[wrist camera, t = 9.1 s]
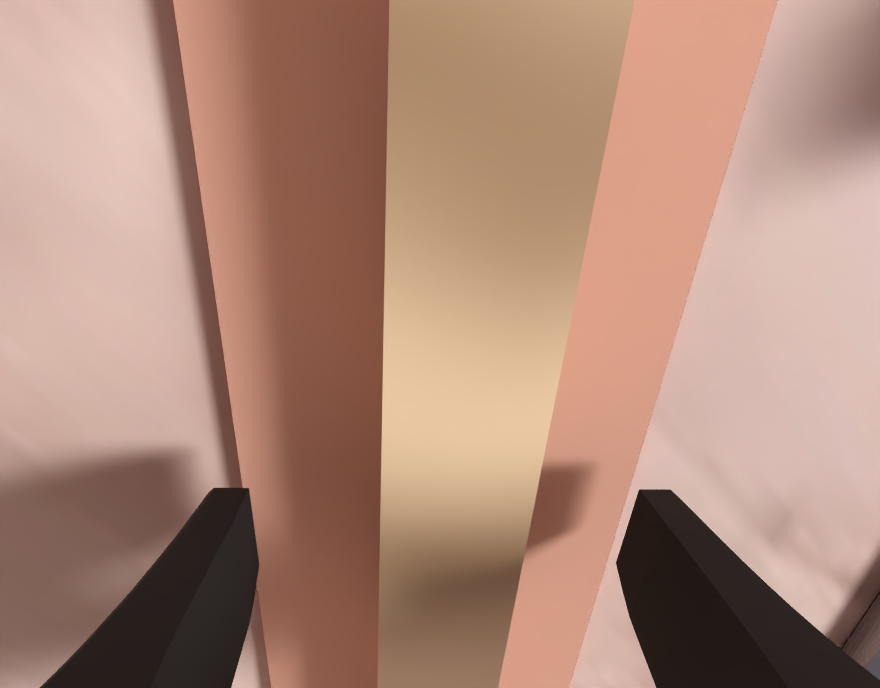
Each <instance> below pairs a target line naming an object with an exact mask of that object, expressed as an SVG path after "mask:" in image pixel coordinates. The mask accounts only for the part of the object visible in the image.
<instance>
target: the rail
mask: <svg viewBox="0 0 880 688" xmlns="http://www.w3.org/2000/svg"><path fill="white" fill-rule="evenodd" d="M634 1H635V0H389V49H388V106H387V163H386V220H385V278H384V335H383V392H382V450H381V507H380V564H379V622H378V679H377V688H498V686H499V681H500V676H501V671H502V666H503V661H504V655H505V650H506V645H507V640H508V635H509V630H510V625H511V620H512V615H513V610H514V605H515V600H516V595H517V590H518V585H519V580H520V575H521V570H522V565H523V560H524V555H525V550H526V545H527V540H528V535H529V530H530V525H531V520H532V515H533V509H534V504H535V499H536V494H537V489H538V484H539V479H540V474H541V469H542V464H543V459H544V454H545V449H546V444H547V439H548V434H549V429H550V424H551V419H552V414H553V409H554V404H555V399H556V394H557V389H558V384H559V379H560V374H561V369H562V363H563V358H564V353H565V348H566V343H567V338H568V333H569V328H570V323H571V318H572V313H573V308H574V303H575V298H576V293H577V288H578V283H579V278H580V273H581V268H582V263H583V258H584V253H585V248H586V243H587V238H588V233H589V228H590V223H591V217H592V212H593V207H594V202H595V197H596V192H597V187H598V182H599V177H600V172H601V167H602V162H603V157H604V152H605V147H606V142H607V137H608V132H609V127H610V122H611V117H612V112H613V107H614V102H615V97H616V92H617V87H618V82H619V77H620V71H621V66H622V61H623V56H624V51H625V46H626V41H627V36H628V31H629V26H630V21H631V16H632V11H633V6H634Z"/></svg>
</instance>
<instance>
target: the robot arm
mask: <svg viewBox="0 0 880 688" xmlns="http://www.w3.org/2000/svg"><path fill="white" fill-rule="evenodd" d="M616 565H617V569H618V573H619V577H620V581H621V586H622V590H623V594H624V598H625V601H626V605H627V609H628V613H629V616H630V619H631V622H632V625H633V627H634V630H635V633H636V635H637V638H638V641H639V643H640V646H641V649H642V651H643V654H644V656H645V659H646V662H647V664H648V667H649V669H650V672H651V675H652V677H653V680H654V682H655V685H656V688H880V680H879V679H878V678H876V677H875V676H874V675H873V674H871V673H870V672H869V671H868V670H866V669H865V668H864V667H862V666H861V665H860V664H859V663H857V662H856V661H855V660H853V659H852V658H851V657H850V656H848V655H847V654H846V653H845V652H844V651H842V650H841V649H840V648H839V647H837V646H836V645H835V644H834V643H833V642H831V641H830V640H829V639H828V638H827V637H825V636H824V635H823V634H822V633H821V632H820V631H819V630H817V629H816V628H815V627H814V626H813V625H812V624H811V623H809V622H808V621H807V620H806V619H805V618H804V617H803V616H801V615H800V614H799V613H798V612H797V611H796V610H795V609H793V608H792V607H791V606H790V605H789V604H788V603H787V602H786V601H785V600H783V599H782V598H781V597H780V596H779V595H778V594H777V593H776V592H775V591H774V590H773V589H771V588H770V587H769V586H768V585H767V584H766V583H765V582H764V581H763V580H762V579H761V578H760V577H759V576H758V575H757V574H756V573H755V572H754V571H752V570H751V569H750V568H749V567H748V566H747V565H746V564H745V563H744V562H743V561H742V560H741V559H740V558H739V557H738V556H737V555H736V554H735V553H734V552H733V551H732V550H731V549H730V548H729V547H728V546H727V545H726V544H725V543H724V542H723V541H722V540H721V539H720V538H719V537H718V536H717V535H716V534H715V533H714V532H713V531H712V530H711V529H710V528H709V527H708V526H707V525H706V524H705V523H704V522H703V521H702V520H701V519H700V518H699V517H698V516H697V515H696V514H695V513H694V512H693V511H692V510H691V509H690V508H689V507H688V506H687V505H686V504H685V503H684V502H683V501H682V500H681V499H680V498H679V497H678V496H677V495H676V494H674V493H673V492H672V491H671V490H639V492H638V495H637V498H636V501H635V505H634V508H633V511H632V514H631V517H630V520H629V524H628V527H627V530H626V533H625V536H624V539H623V543H622V546H621V549H620V552H619V555H618V558H617V562H616ZM258 571H259V558H258V551H257V543H256V536H255V529H254V521H253V514H252V506H251V499H250V492H249V488H214V489H212V490H211V491H210V492H209V493H208V494H207V495H206V497H205V498H204V500H203V501H202V502H201V504H200V505H199V506H198V508H197V509H196V510H195V512H194V513H193V514H192V516H191V517H190V518H189V520H188V521H187V522H186V524H185V525H184V526H183V528H182V529H181V530H180V532H179V533H178V534H177V536H176V537H175V538H174V539H173V541H172V542H171V543H170V544H169V546H168V547H167V548H166V550H165V551H164V552H163V553H162V555H161V556H160V557H159V558H158V559H157V561H156V562H155V563H154V564H153V565H152V567H151V568H150V569H149V570H148V571H147V573H146V574H145V575H144V576H143V577H142V579H141V580H140V581H139V582H138V583H137V585H136V586H135V587H134V588H133V589H132V591H131V592H130V593H129V594H128V595H127V596H126V598H125V599H124V600H123V601H122V602H121V603H120V604H119V605H118V606H117V608H116V609H115V610H114V611H113V612H112V613H111V614H110V615H109V616H108V617H107V619H106V620H105V621H104V622H103V623H102V624H101V625H100V626H99V627H98V629H97V630H96V631H95V632H94V633H93V634H92V635H91V636H90V637H89V638H88V640H87V641H86V642H85V643H84V644H83V645H82V646H81V647H80V648H79V649H78V650H77V651H76V652H75V653H74V654H73V655H72V656H71V657H70V658H69V659H68V660H67V661H66V662H65V663H64V664H63V665H62V666H61V667H60V668H59V669H58V670H57V671H56V672H55V673H54V674H53V675H52V676H51V677H50V678H49V679H48V680H47V681H46V682H45V683H44V684H43V685H42V686H41V687H40V688H231V686H232V682H233V679H234V675H235V672H236V668H237V665H238V661H239V658H240V654H241V651H242V647H243V644H244V640H245V637H246V633H247V630H248V626H249V622H250V617H251V612H252V606H253V601H254V595H255V589H256V583H257V577H258Z"/></svg>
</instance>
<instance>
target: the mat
mask: <svg viewBox="0 0 880 688" xmlns="http://www.w3.org/2000/svg"><path fill="white" fill-rule="evenodd" d="M777 1H778V0H635V1H634V6H633V11H632V16H631V21H630V26H629V31H628V36H627V41H626V46H625V51H624V56H623V61H622V66H621V71H620V77H619V82H618V87H617V92H616V97H615V102H614V107H613V112H612V117H611V122H610V127H609V132H608V137H607V142H606V147H605V152H604V157H603V162H602V167H601V172H600V177H599V182H598V187H597V192H596V197H595V202H594V207H593V212H592V217H591V223H590V228H589V233H588V238H587V243H586V248H585V253H584V258H583V263H582V268H581V273H580V278H579V283H578V288H577V293H576V298H575V303H574V308H573V313H572V318H571V323H570V328H569V333H568V338H567V343H566V348H565V353H564V358H563V363H562V369H561V374H560V379H559V384H558V389H557V394H556V399H555V404H554V409H553V414H552V419H551V424H550V429H549V434H548V439H547V444H546V449H545V454H544V459H543V464H542V469H541V474H540V479H539V484H538V489H537V494H536V499H535V504H534V509H533V515H532V520H531V525H530V530H529V535H528V540H527V545H526V550H525V555H524V560H523V565H522V570H521V575H520V580H519V585H518V590H517V595H516V600H515V605H514V610H513V615H512V620H511V625H510V630H509V635H508V640H507V645H506V650H505V655H504V661H503V666H502V671H501V676H500V681H499V686H498V688H569V685H570V682H571V679H572V676H573V672H574V669H575V666H576V662H577V659H578V656H579V653H580V649H581V646H582V643H583V639H584V636H585V633H586V630H587V626H588V623H589V620H590V616H591V613H592V610H593V607H594V603H595V600H596V597H597V593H598V590H599V587H600V583H601V580H602V577H603V574H604V570H605V567H606V564H607V560H608V557H609V554H610V551H611V547H612V544H613V541H614V537H615V534H616V531H617V528H618V524H619V521H620V518H621V514H622V511H623V508H624V504H625V501H626V498H627V495H628V491H629V488H630V485H631V481H632V478H633V475H634V472H635V468H636V465H637V462H638V458H639V455H640V452H641V449H642V445H643V442H644V439H645V435H646V432H647V429H648V425H649V422H650V419H651V416H652V412H653V409H654V406H655V402H656V399H657V396H658V393H659V389H660V386H661V383H662V379H663V376H664V373H665V370H666V366H667V363H668V360H669V356H670V353H671V350H672V347H673V343H674V340H675V337H676V333H677V330H678V327H679V323H680V320H681V317H682V314H683V310H684V307H685V304H686V300H687V297H688V294H689V291H690V287H691V284H692V281H693V277H694V274H695V271H696V268H697V264H698V261H699V258H700V254H701V251H702V248H703V244H704V241H705V238H706V235H707V231H708V228H709V225H710V221H711V218H712V215H713V212H714V208H715V205H716V202H717V198H718V195H719V192H720V189H721V185H722V182H723V179H724V175H725V172H726V169H727V165H728V162H729V159H730V156H731V152H732V149H733V146H734V142H735V139H736V136H737V133H738V129H739V126H740V123H741V119H742V116H743V113H744V110H745V106H746V103H747V100H748V96H749V93H750V90H751V87H752V83H753V80H754V77H755V73H756V70H757V67H758V63H759V60H760V57H761V54H762V50H763V47H764V44H765V40H766V37H767V34H768V31H769V27H770V24H771V21H772V17H773V14H774V11H775V8H776V4H777ZM173 4H174V11H175V18H176V25H177V32H178V39H179V46H180V53H181V60H182V67H183V74H184V81H185V88H186V95H187V102H188V109H189V116H190V123H191V130H192V137H193V144H194V151H195V158H196V165H197V172H198V179H199V186H200V193H201V200H202V207H203V214H204V221H205V228H206V235H207V242H208V249H209V256H210V263H211V270H212V277H213V284H214V291H215V298H216V305H217V312H218V319H219V326H220V333H221V340H222V347H223V354H224V361H225V368H226V375H227V382H228V389H229V396H230V403H231V410H232V417H233V424H234V431H235V438H236V445H237V452H238V459H239V466H240V473H241V480H242V487H243V488H249V492H250V499H251V506H252V514H253V521H254V529H255V536H256V543H257V551H258V558H259V571H258V577H257V583H256V585H257V592H258V599H259V606H260V613H261V620H262V627H263V634H264V641H265V648H266V655H267V662H268V669H269V676H270V683H271V688H377V679H378V622H379V564H380V507H381V450H382V392H383V335H384V278H385V220H386V163H387V106H388V49H389V0H173Z"/></svg>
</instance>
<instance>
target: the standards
mask: <svg viewBox="0 0 880 688" xmlns="http://www.w3.org/2000/svg"><path fill="white" fill-rule="evenodd" d="M842 651H844V652H845V653H846V654H847V655H848V656H850V657H851V658H852V659H853V660H855V661H856V662H857V663H859V664H860V665H861V666H862V667H864V668H865V669H866V670H868V671H869V672H870V673H871V674H873V675H874V676H875V677H876V678H878V679H879V680H880V594H879V595H878V597H877V598H876V600H875V601H874V603H873V604H872V605H871V607H870V608H869V610H868V611H867V613H866V614H865V616H864V617H863V619H862V620H861V622H860V623H859V625H858V626H857V628H856V629H855V631H854V632H853V634H852V635H851V637H850V638H849V640H848V641H847V643H846V644H845V645H844V647H843V648H842Z"/></svg>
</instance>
